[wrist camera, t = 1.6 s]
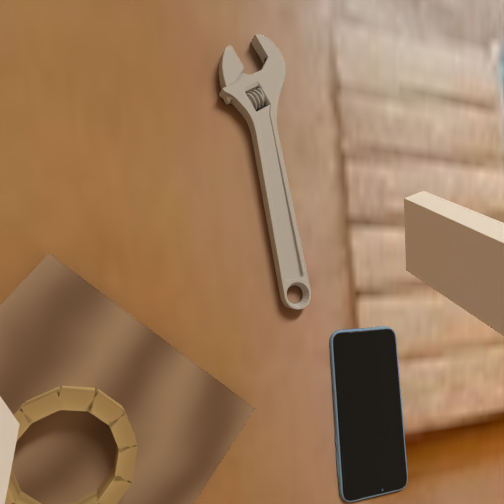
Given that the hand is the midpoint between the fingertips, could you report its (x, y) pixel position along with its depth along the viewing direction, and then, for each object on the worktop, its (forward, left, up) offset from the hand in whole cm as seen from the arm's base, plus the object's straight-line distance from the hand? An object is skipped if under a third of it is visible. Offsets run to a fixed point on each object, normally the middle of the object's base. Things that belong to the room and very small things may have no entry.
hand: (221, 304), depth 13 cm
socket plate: (+2, -11, -22) cm, 25 cm away
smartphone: (+22, +5, -23) cm, 32 cm away
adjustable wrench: (+1, +16, -23) cm, 28 cm away
